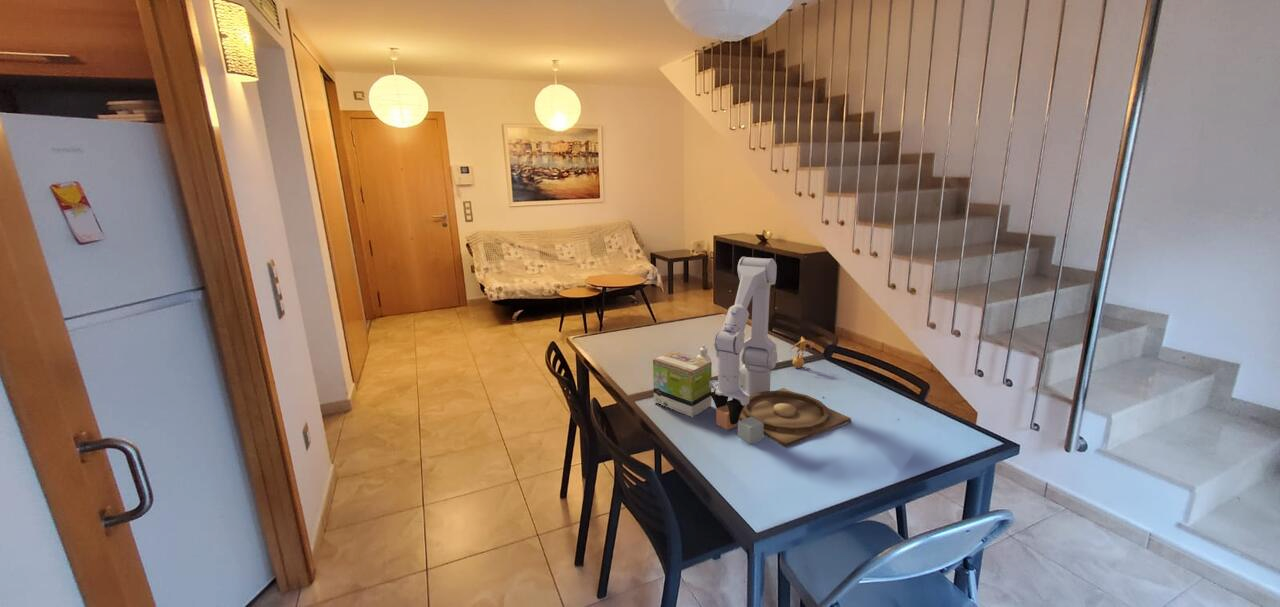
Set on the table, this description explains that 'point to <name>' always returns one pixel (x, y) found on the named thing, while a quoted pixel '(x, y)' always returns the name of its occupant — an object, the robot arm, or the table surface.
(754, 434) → the grey cube
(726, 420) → the orange cube
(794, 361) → the figurine
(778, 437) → the groove tray
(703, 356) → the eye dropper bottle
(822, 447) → the table surface
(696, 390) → the tea box
